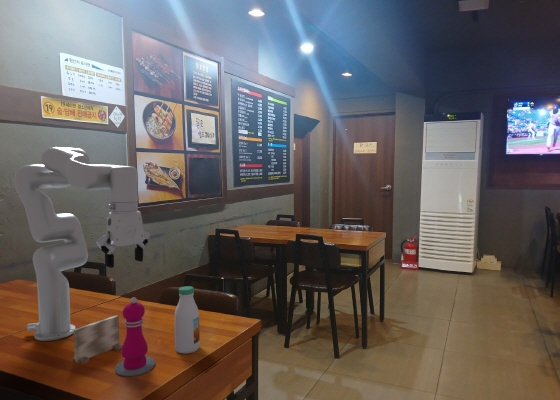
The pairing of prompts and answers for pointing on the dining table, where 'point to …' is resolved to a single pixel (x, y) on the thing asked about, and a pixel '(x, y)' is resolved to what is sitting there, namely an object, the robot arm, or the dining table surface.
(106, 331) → the screen
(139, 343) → the pepper mill
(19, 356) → the dining table surface
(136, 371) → the coaster
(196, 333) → the milk bottle
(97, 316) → the dining table surface
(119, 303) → the dining table surface
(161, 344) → the dining table surface
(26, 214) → the robot arm
